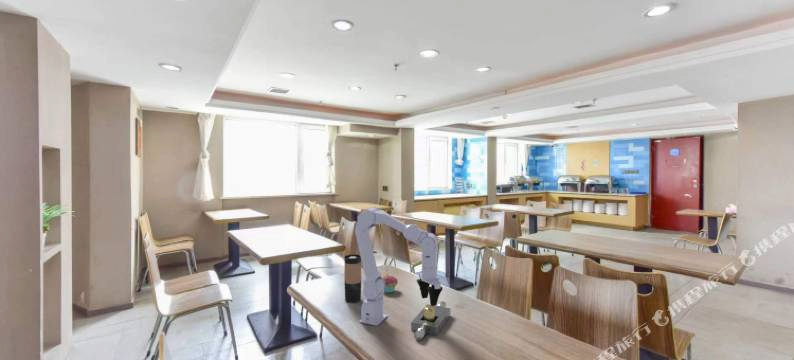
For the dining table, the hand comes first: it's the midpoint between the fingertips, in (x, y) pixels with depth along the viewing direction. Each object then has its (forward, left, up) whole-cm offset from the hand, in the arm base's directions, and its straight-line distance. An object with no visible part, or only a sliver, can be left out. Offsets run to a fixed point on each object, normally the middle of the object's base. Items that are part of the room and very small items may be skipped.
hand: (429, 301), depth 128 cm
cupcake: (+27, +30, -10) cm, 41 cm away
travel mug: (+10, +40, -10) cm, 42 cm away
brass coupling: (0, 0, -9) cm, 9 cm away
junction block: (+3, 0, -9) cm, 10 cm away
